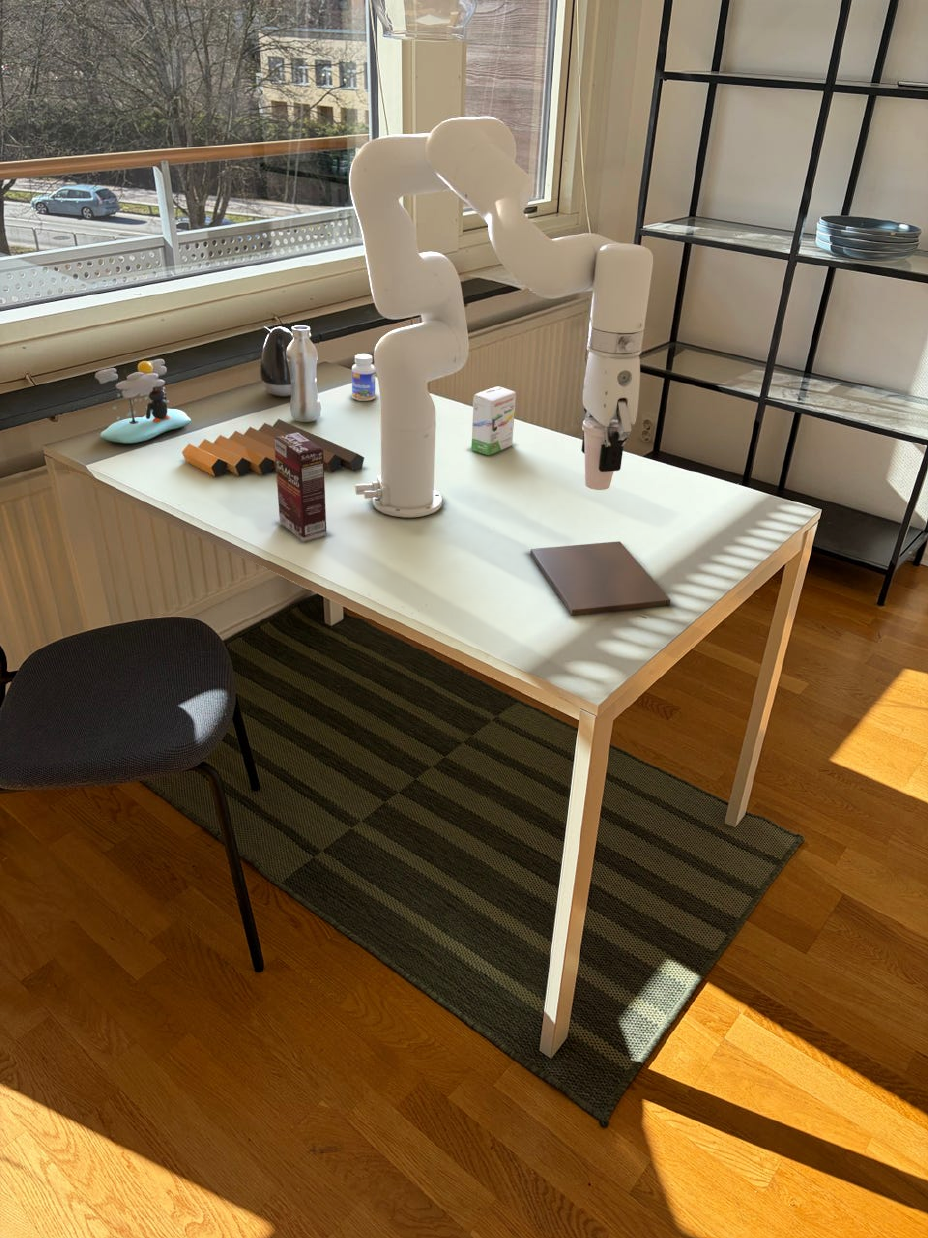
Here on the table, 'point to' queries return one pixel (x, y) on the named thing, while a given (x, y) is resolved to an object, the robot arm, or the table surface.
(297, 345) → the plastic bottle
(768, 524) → the table surface
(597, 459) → the smoothie
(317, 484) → the supplement box
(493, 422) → the ink box
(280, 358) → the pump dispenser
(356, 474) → the table surface
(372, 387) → the pill bottle
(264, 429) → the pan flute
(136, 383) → the penguin figurine
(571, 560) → the walnut board
